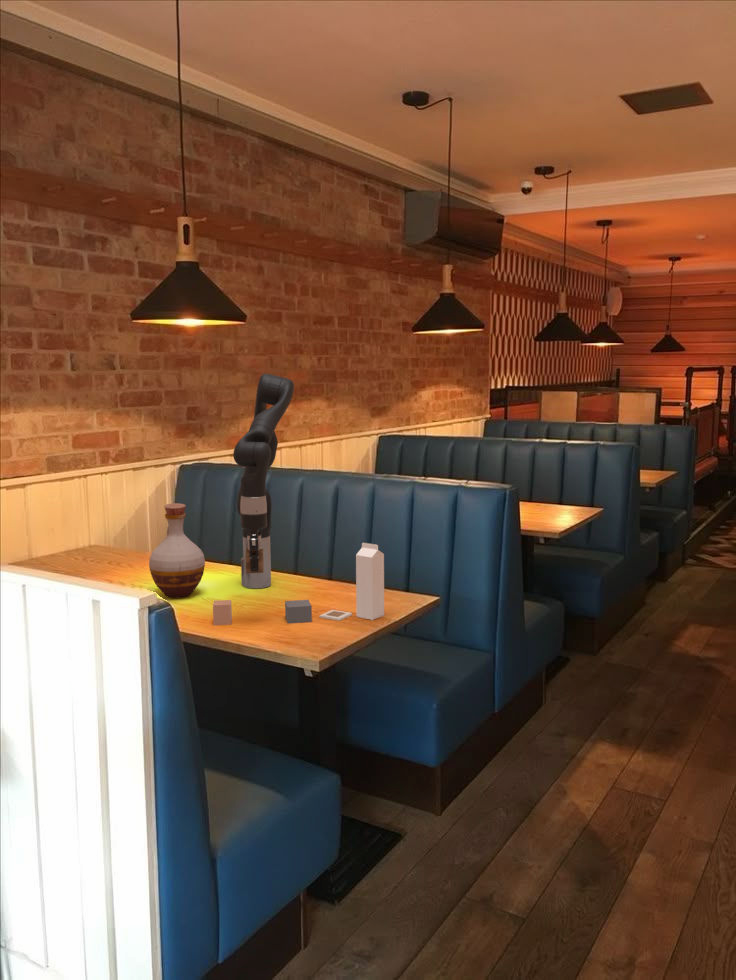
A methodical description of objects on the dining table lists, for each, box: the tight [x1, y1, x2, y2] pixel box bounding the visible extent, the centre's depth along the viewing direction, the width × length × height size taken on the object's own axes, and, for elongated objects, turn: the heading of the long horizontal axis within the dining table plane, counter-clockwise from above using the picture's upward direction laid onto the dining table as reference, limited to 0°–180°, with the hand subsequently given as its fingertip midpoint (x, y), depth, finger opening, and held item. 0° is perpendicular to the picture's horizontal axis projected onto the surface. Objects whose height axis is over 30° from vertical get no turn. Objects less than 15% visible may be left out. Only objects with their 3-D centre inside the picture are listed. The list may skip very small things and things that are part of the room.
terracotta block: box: [212, 599, 233, 626], centre depth 242 cm, size 5×5×6 cm
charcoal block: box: [284, 599, 313, 625], centre depth 245 cm, size 7×7×5 cm
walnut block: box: [245, 549, 264, 573], centre depth 241 cm, size 5×5×6 cm
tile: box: [319, 609, 353, 622], centre depth 248 cm, size 7×7×1 cm
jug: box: [148, 502, 206, 599], centre depth 272 cm, size 20×18×30 cm
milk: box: [355, 542, 385, 621], centre depth 246 cm, size 6×6×22 cm
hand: (254, 568), depth 242 cm, fingers closed on walnut block, 5 cm apart
